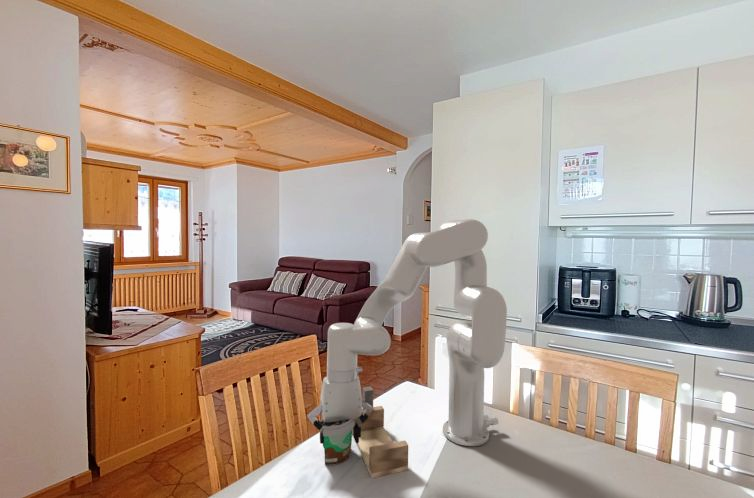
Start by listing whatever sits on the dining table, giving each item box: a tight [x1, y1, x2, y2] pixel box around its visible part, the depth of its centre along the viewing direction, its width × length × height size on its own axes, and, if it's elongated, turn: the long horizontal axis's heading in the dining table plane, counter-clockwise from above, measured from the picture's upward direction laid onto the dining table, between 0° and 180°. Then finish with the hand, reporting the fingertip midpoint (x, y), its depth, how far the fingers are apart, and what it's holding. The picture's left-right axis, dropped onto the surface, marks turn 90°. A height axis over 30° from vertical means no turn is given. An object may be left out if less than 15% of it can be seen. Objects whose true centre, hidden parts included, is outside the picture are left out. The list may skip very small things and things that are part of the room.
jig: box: [352, 426, 409, 479], centre depth 91 cm, size 9×21×6 cm, turn 18°
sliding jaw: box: [352, 386, 385, 430], centre depth 98 cm, size 9×2×11 cm, turn 108°
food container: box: [323, 419, 356, 466], centre depth 88 cm, size 12×6×10 cm, turn 169°
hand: (340, 442), depth 88 cm, fingers closed on food container, 7 cm apart
